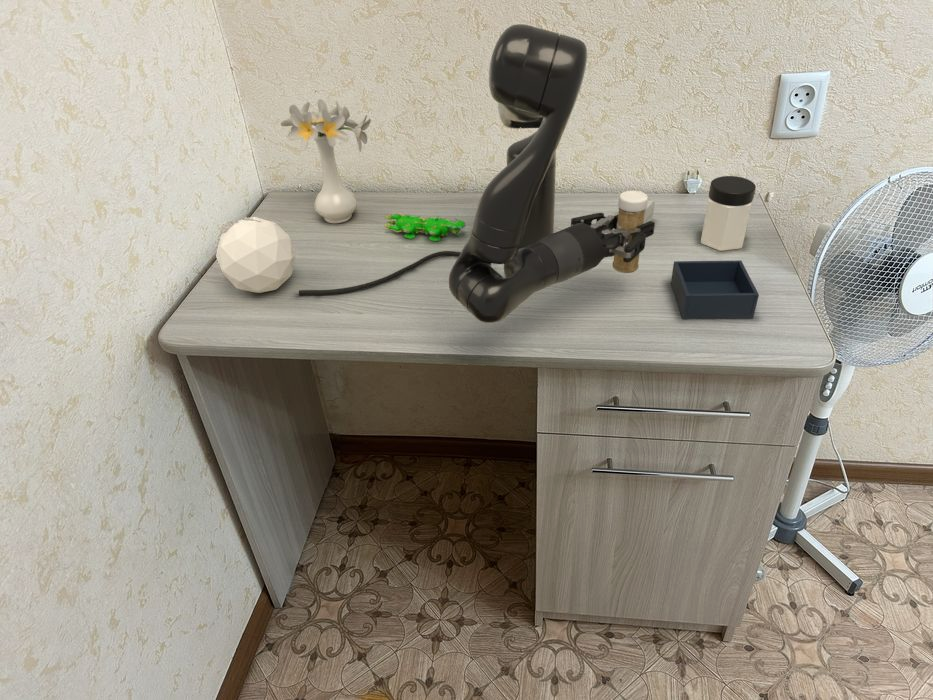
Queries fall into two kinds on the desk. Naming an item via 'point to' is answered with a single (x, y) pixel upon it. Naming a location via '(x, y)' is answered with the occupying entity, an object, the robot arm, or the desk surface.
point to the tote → (713, 290)
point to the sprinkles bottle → (630, 224)
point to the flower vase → (328, 153)
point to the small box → (649, 211)
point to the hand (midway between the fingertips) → (641, 221)
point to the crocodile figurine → (424, 226)
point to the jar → (727, 212)
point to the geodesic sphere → (255, 255)
